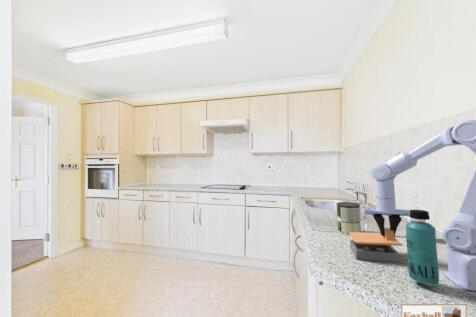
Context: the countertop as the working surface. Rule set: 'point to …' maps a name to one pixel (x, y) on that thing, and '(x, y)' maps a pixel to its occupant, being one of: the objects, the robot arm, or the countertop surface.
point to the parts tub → (375, 252)
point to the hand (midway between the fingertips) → (387, 235)
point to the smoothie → (415, 219)
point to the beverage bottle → (422, 249)
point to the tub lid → (375, 238)
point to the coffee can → (348, 217)
